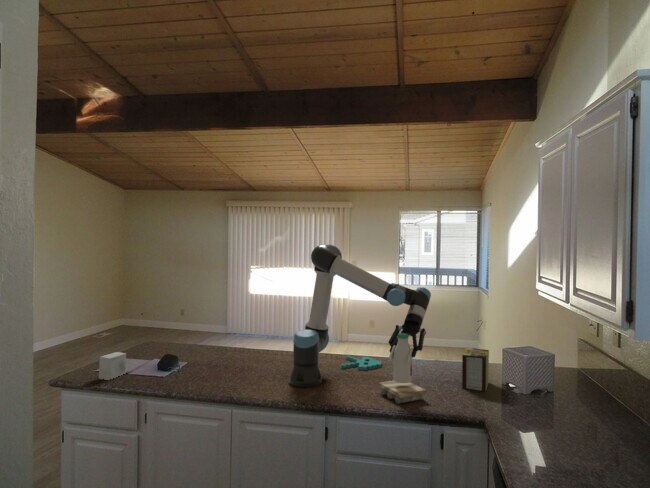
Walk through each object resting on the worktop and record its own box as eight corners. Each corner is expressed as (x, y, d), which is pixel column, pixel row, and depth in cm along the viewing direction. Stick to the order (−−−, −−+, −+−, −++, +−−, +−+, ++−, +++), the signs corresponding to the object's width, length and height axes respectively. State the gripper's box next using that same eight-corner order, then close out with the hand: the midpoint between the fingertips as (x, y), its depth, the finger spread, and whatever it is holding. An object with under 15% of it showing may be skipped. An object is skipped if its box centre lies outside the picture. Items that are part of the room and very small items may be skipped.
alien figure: (341, 369, 223) (379, 372, 219) (341, 365, 223) (379, 368, 219) (346, 359, 242) (382, 362, 238) (346, 355, 242) (382, 358, 238)
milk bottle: (407, 384, 177) (408, 336, 177) (390, 381, 181) (391, 334, 181) (414, 380, 183) (414, 333, 183) (397, 376, 187) (398, 331, 188)
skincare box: (109, 380, 198) (109, 358, 198) (98, 379, 200) (98, 356, 200) (126, 374, 208) (126, 352, 208) (115, 372, 210) (116, 351, 210)
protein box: (488, 382, 204) (489, 349, 204) (486, 392, 190) (486, 357, 190) (465, 379, 208) (466, 347, 208) (461, 388, 194) (462, 354, 194)
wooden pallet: (378, 393, 186) (378, 382, 187) (403, 389, 192) (403, 379, 192) (400, 405, 172) (400, 394, 172) (426, 400, 178) (426, 390, 178)
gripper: (438, 325, 189) (425, 370, 176) (396, 320, 201) (380, 362, 187) (434, 314, 185) (420, 360, 171) (391, 310, 196) (374, 352, 183)
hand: (399, 361), depth 179 cm, fingers closed on milk bottle, 7 cm apart
